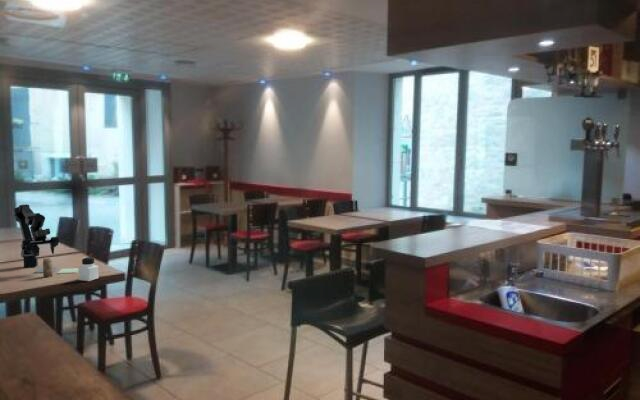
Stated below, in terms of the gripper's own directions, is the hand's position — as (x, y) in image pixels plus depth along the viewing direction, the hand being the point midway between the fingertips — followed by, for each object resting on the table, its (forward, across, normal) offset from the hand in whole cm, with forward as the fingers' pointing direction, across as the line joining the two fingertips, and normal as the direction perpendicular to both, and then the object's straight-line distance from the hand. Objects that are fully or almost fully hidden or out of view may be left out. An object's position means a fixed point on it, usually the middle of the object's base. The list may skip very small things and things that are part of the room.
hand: (44, 254), depth 280 cm
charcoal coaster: (+1, +3, +16) cm, 16 cm away
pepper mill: (+12, 0, +5) cm, 13 cm away
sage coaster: (+8, +13, +8) cm, 17 cm away
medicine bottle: (+27, +14, -10) cm, 32 cm away
